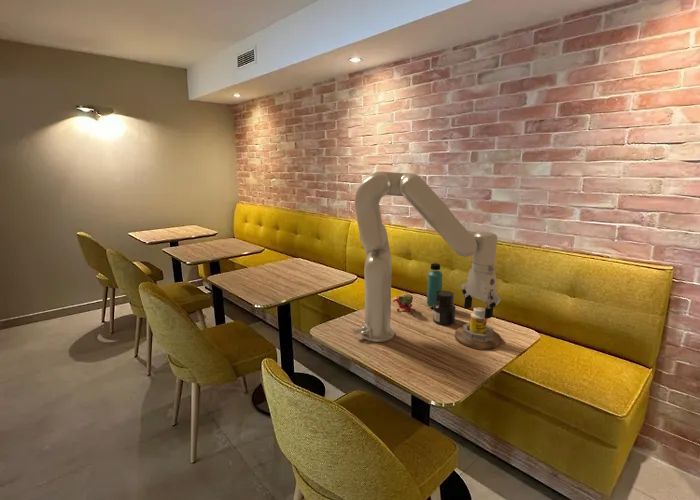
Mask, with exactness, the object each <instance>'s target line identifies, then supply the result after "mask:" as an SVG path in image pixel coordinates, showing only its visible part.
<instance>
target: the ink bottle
mask: <svg viewBox="0 0 700 500" xmlns="http://www.w3.org/2000/svg"><path fill="white" fill-rule="evenodd" d="M454 299H455V293H454V292H452V291H450V290H444V289H442V291H437V293H436V303H435V304H434V305H433V307H432V308H433V309H432V320H433V322H434V323H435V324H437V325H442V326H451V325H454V323H456V309H457V306H456V305H455V304H454V302H455V301H454Z"/></svg>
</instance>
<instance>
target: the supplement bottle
mask: <svg viewBox="0 0 700 500" xmlns="http://www.w3.org/2000/svg"><path fill="white" fill-rule="evenodd" d="M484 316H485V308H484V307H481V306H480V307H479V306H477V307H473V310H472V312H471V313H470V320H469V323H470V332H472V333H477V334H485V332H486V325H487V321H488V319H485V318H484Z"/></svg>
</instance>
